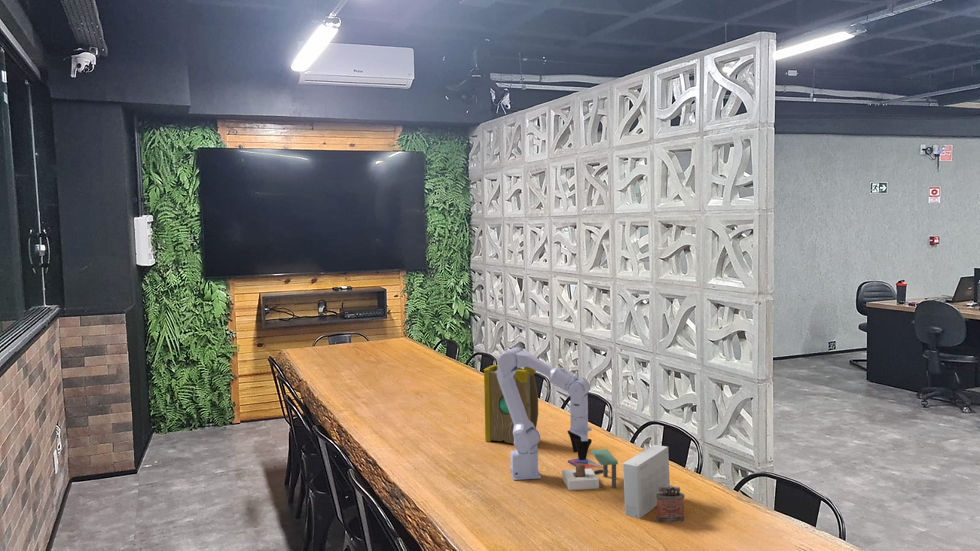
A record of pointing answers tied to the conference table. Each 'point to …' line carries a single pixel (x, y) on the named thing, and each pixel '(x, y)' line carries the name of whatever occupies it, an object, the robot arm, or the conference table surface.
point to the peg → (580, 470)
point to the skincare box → (645, 480)
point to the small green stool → (606, 463)
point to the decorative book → (496, 407)
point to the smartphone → (587, 465)
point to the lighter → (670, 504)
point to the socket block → (580, 480)
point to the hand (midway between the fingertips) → (579, 455)
